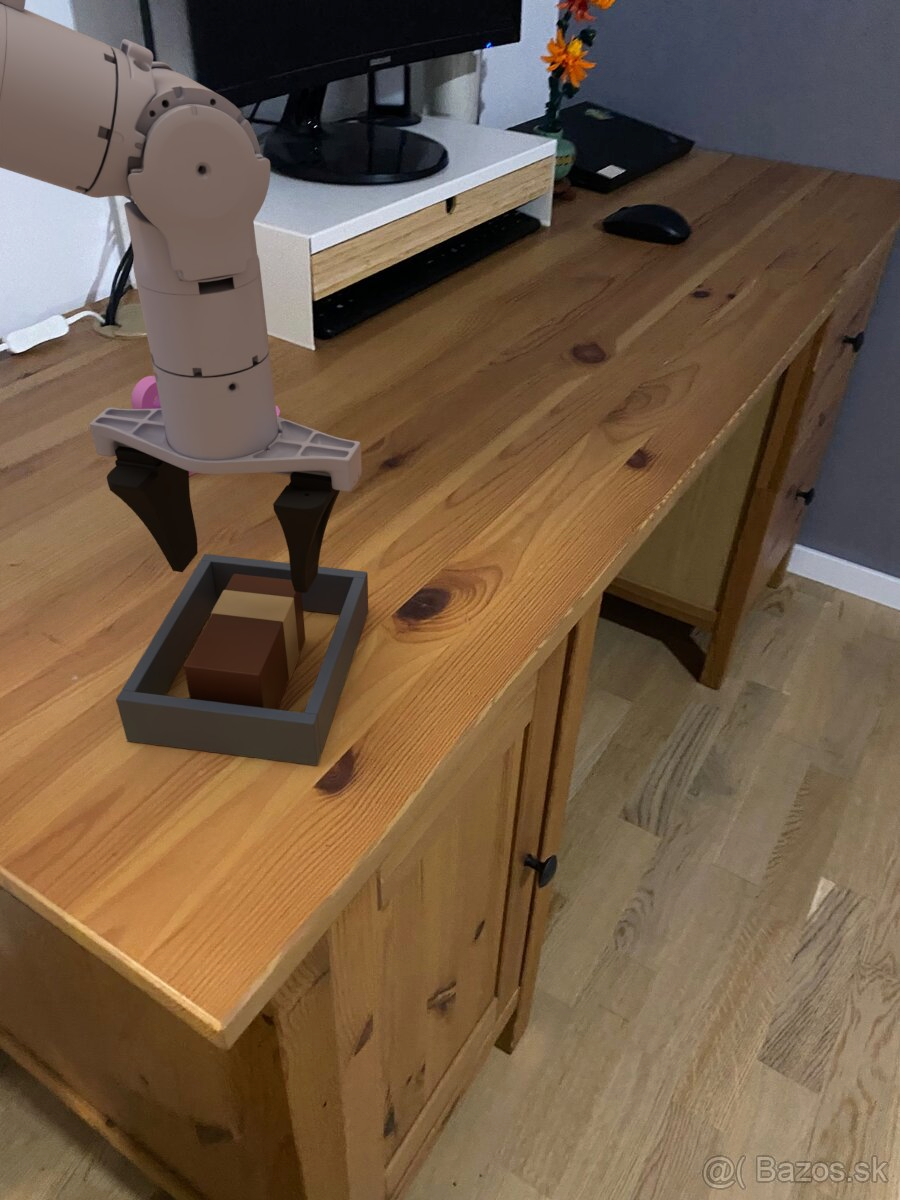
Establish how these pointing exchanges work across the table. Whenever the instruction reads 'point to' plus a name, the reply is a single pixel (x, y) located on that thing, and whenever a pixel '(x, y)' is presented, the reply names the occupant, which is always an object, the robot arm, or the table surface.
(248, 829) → the table surface
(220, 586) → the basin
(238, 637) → the brown tan banded block
